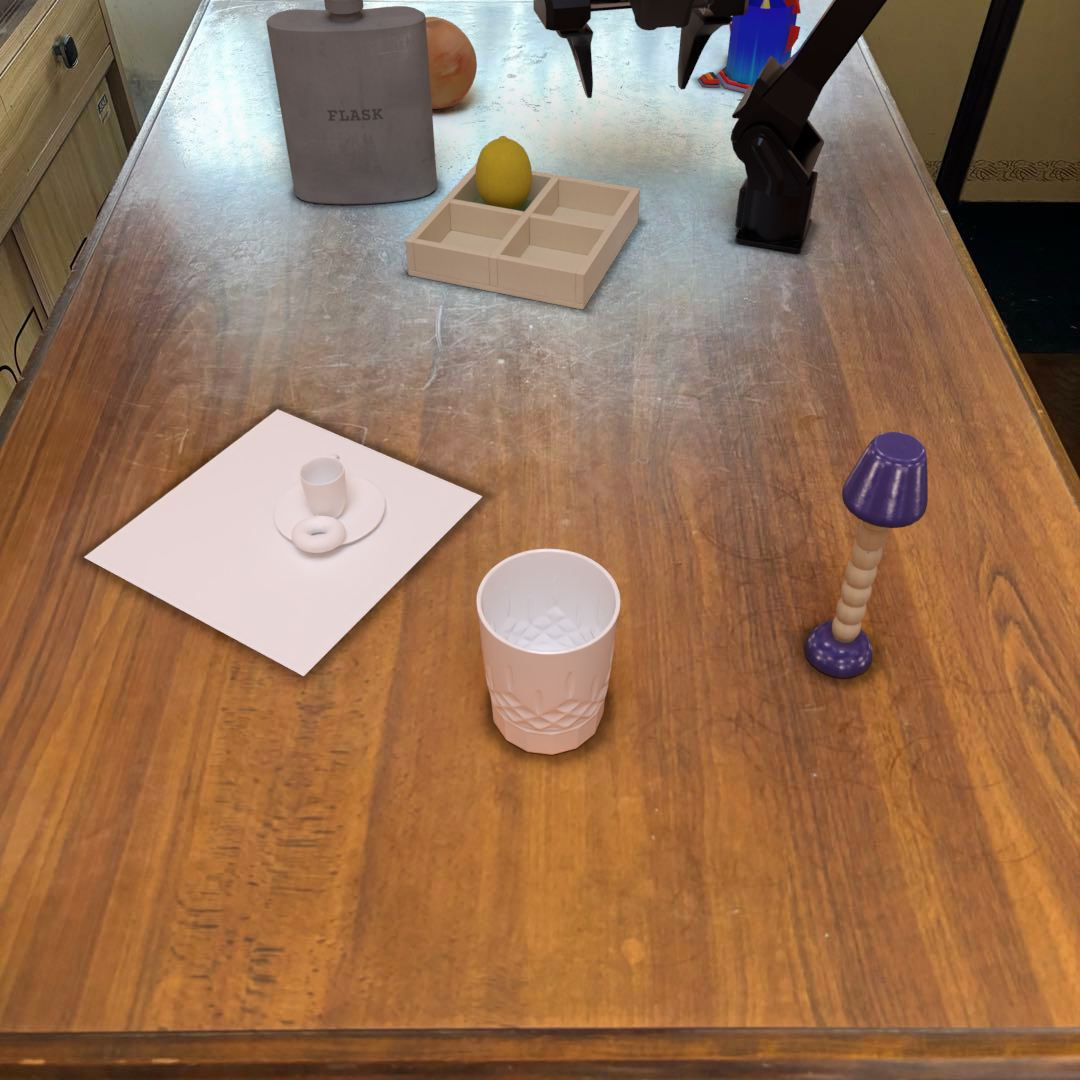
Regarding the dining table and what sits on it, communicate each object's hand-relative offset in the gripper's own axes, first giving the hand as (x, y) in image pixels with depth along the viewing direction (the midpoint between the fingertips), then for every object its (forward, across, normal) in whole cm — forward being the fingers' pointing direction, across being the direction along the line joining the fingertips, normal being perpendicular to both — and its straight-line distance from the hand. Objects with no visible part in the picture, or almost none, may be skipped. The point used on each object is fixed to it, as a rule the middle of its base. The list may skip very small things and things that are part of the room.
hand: (635, 92), depth 105 cm
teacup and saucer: (+12, -37, -40) cm, 56 cm away
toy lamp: (+12, -3, -60) cm, 61 cm away
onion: (+12, -15, +30) cm, 36 cm away
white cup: (+12, -22, -60) cm, 66 cm away
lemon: (+11, -13, 0) cm, 17 cm away
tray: (+12, -12, -5) cm, 18 cm away
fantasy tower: (+12, +25, +29) cm, 40 cm away
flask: (+12, -26, +10) cm, 30 cm away
